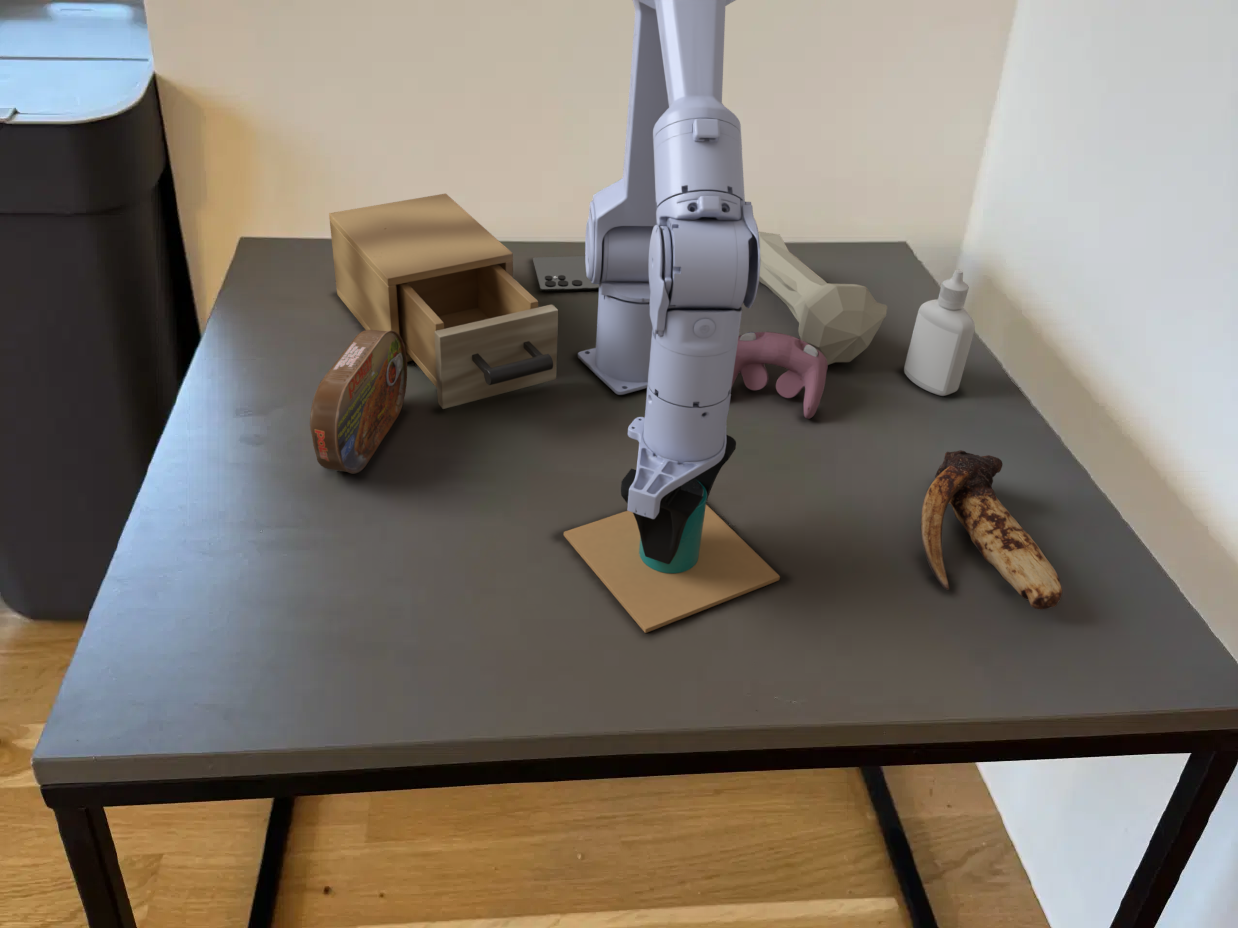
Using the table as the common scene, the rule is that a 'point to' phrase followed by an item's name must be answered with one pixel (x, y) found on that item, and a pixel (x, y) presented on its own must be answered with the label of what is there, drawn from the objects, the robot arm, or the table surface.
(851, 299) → the faceted club
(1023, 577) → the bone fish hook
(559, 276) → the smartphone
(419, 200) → the cabinet
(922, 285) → the table surface
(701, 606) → the mat
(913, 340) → the eye dropper bottle
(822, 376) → the video game controller
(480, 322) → the drawer
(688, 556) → the can
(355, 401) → the tin
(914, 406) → the table surface
